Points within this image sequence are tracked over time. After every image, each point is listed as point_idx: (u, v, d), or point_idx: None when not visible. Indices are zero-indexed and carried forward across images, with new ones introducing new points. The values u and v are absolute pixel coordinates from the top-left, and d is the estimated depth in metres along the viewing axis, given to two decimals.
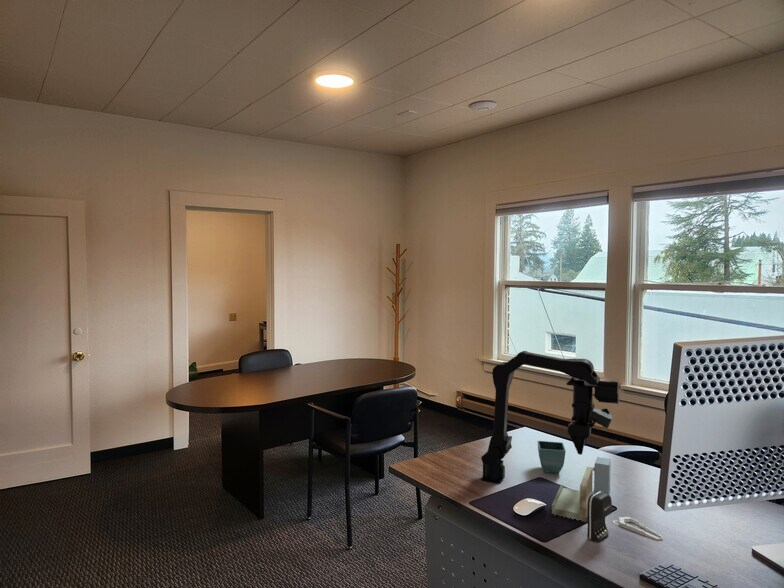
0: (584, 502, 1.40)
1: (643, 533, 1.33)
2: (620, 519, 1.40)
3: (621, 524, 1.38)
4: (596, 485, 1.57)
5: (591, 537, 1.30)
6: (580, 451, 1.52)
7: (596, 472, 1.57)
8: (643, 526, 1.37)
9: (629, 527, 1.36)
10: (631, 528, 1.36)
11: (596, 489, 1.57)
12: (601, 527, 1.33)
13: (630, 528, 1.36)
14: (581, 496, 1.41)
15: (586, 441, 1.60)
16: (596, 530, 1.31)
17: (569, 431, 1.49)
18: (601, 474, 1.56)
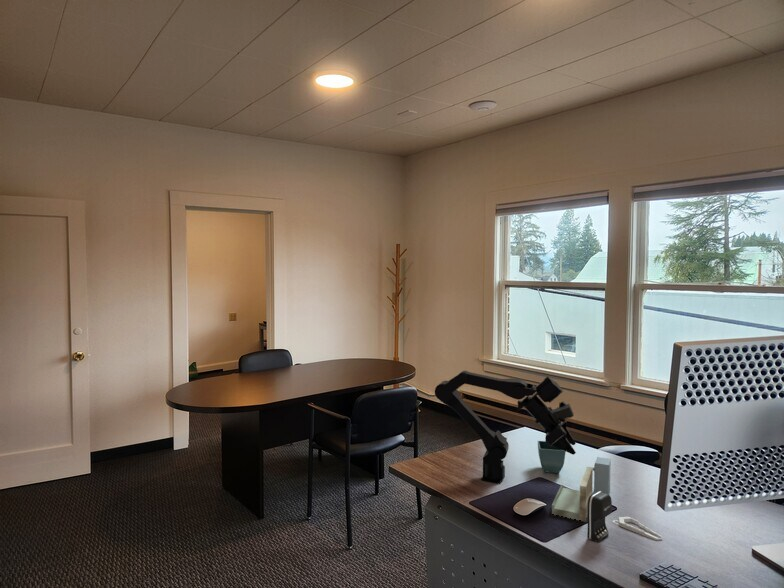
0: (584, 502, 1.40)
1: (643, 533, 1.33)
2: (620, 519, 1.40)
3: (621, 524, 1.38)
4: (596, 485, 1.57)
5: (591, 537, 1.30)
6: (572, 451, 1.57)
7: (596, 472, 1.57)
8: (643, 526, 1.37)
9: (629, 527, 1.36)
10: (631, 528, 1.36)
11: (596, 489, 1.57)
12: (601, 527, 1.33)
13: (630, 528, 1.36)
14: (581, 496, 1.41)
15: (573, 439, 1.65)
16: (596, 530, 1.31)
17: (549, 443, 1.55)
18: (601, 474, 1.56)
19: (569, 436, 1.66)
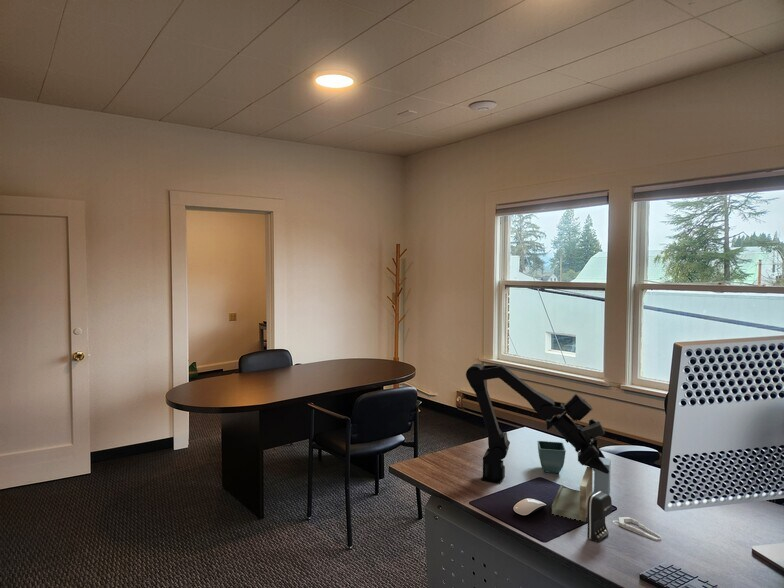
0: (584, 502, 1.40)
1: (642, 533, 1.33)
2: (620, 519, 1.40)
3: (620, 524, 1.38)
4: (596, 485, 1.57)
5: (591, 537, 1.30)
6: (605, 470, 1.53)
7: (596, 472, 1.57)
8: (643, 526, 1.37)
9: (628, 527, 1.36)
10: (630, 528, 1.36)
11: (596, 489, 1.57)
12: (601, 527, 1.33)
13: (629, 528, 1.36)
14: (581, 496, 1.41)
15: (604, 457, 1.62)
16: (596, 530, 1.31)
17: (582, 463, 1.52)
18: (601, 474, 1.56)
19: (600, 454, 1.63)
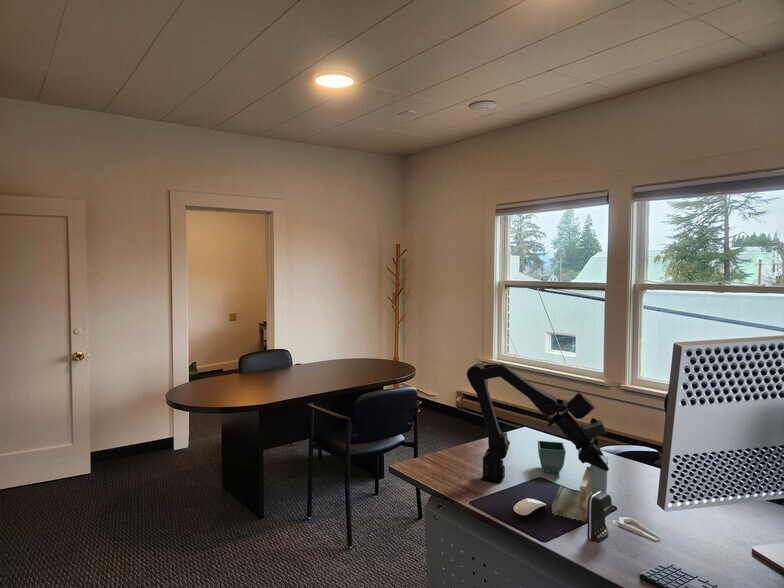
0: (584, 502, 1.40)
1: (641, 534, 1.33)
2: (620, 519, 1.40)
3: (620, 524, 1.38)
4: (593, 482, 1.57)
5: (591, 537, 1.30)
6: (605, 467, 1.55)
7: (594, 469, 1.57)
8: (643, 527, 1.37)
9: (628, 527, 1.36)
10: (630, 528, 1.36)
11: (593, 486, 1.57)
12: (601, 527, 1.33)
13: (629, 528, 1.36)
14: (581, 496, 1.41)
15: None
16: (596, 530, 1.31)
17: (582, 461, 1.52)
18: (599, 471, 1.56)
19: (601, 454, 1.62)
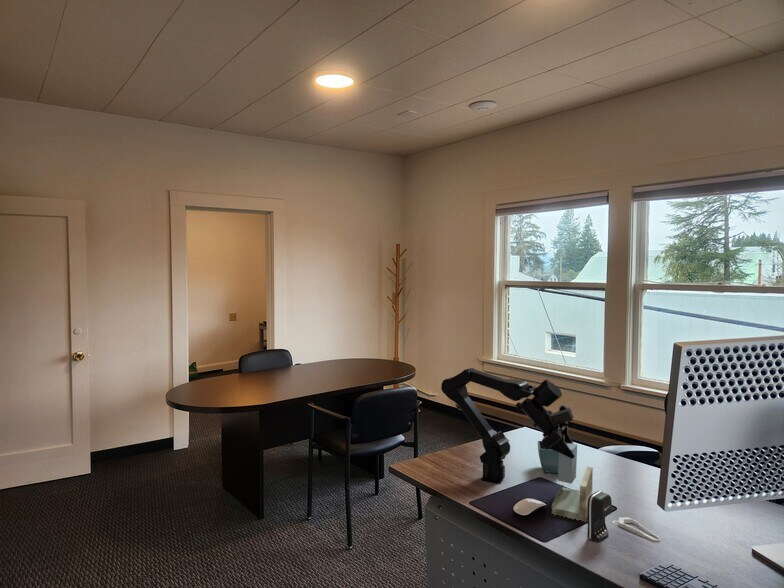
0: (584, 502, 1.40)
1: (641, 534, 1.33)
2: (620, 519, 1.40)
3: (620, 524, 1.38)
4: (560, 470, 1.55)
5: (591, 537, 1.30)
6: (571, 455, 1.52)
7: (560, 457, 1.55)
8: (642, 527, 1.36)
9: (627, 527, 1.36)
10: (629, 528, 1.36)
11: (560, 474, 1.55)
12: (601, 527, 1.33)
13: (628, 528, 1.36)
14: (581, 496, 1.41)
15: None
16: (596, 530, 1.31)
17: (545, 447, 1.50)
18: (565, 458, 1.54)
19: (570, 442, 1.59)
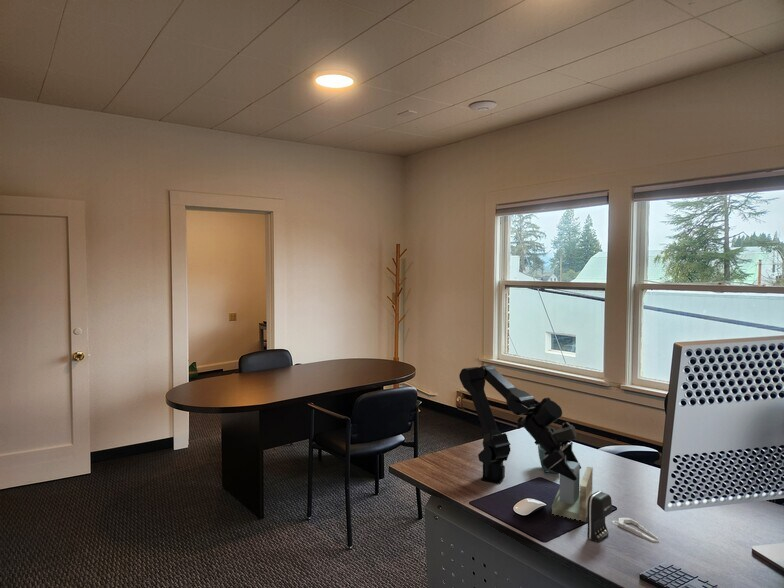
0: (584, 502, 1.40)
1: (640, 534, 1.33)
2: (619, 519, 1.40)
3: (619, 524, 1.38)
4: (561, 490, 1.49)
5: (591, 537, 1.30)
6: (573, 477, 1.44)
7: (561, 476, 1.48)
8: (642, 528, 1.36)
9: (627, 528, 1.36)
10: (629, 529, 1.36)
11: (561, 494, 1.49)
12: (601, 527, 1.33)
13: (628, 529, 1.36)
14: (581, 496, 1.41)
15: None
16: (596, 530, 1.31)
17: (546, 467, 1.44)
18: (566, 478, 1.48)
19: (574, 460, 1.53)
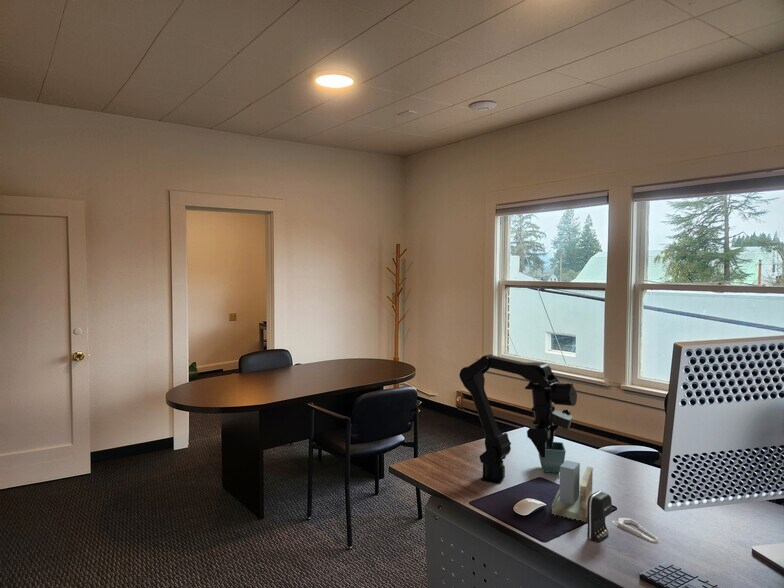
0: (584, 502, 1.40)
1: (639, 534, 1.33)
2: (619, 519, 1.40)
3: (619, 524, 1.38)
4: (561, 490, 1.49)
5: (591, 537, 1.30)
6: (543, 454, 1.54)
7: (561, 476, 1.48)
8: (642, 528, 1.36)
9: (626, 528, 1.36)
10: (628, 529, 1.35)
11: (561, 494, 1.49)
12: (601, 527, 1.33)
13: (627, 529, 1.36)
14: (581, 496, 1.41)
15: (552, 443, 1.62)
16: (596, 530, 1.31)
17: (528, 435, 1.52)
18: (566, 478, 1.48)
19: (551, 438, 1.62)
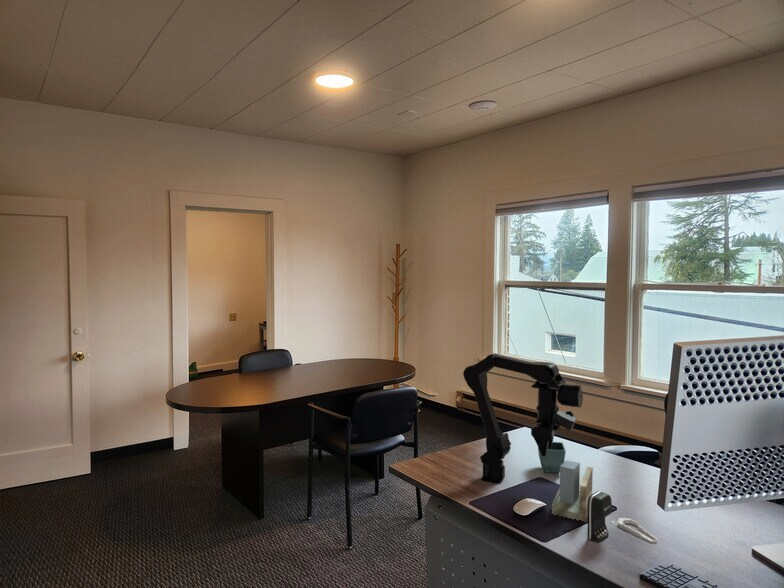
0: (584, 502, 1.40)
1: (638, 535, 1.33)
2: (619, 520, 1.39)
3: (619, 524, 1.38)
4: (561, 490, 1.49)
5: (591, 537, 1.30)
6: (543, 453, 1.55)
7: (561, 476, 1.48)
8: (642, 528, 1.36)
9: (626, 528, 1.36)
10: (628, 529, 1.35)
11: (561, 494, 1.49)
12: (601, 527, 1.33)
13: (627, 529, 1.36)
14: (581, 496, 1.41)
15: (551, 443, 1.63)
16: (596, 530, 1.31)
17: (532, 433, 1.52)
18: (566, 478, 1.48)
19: (551, 438, 1.63)
